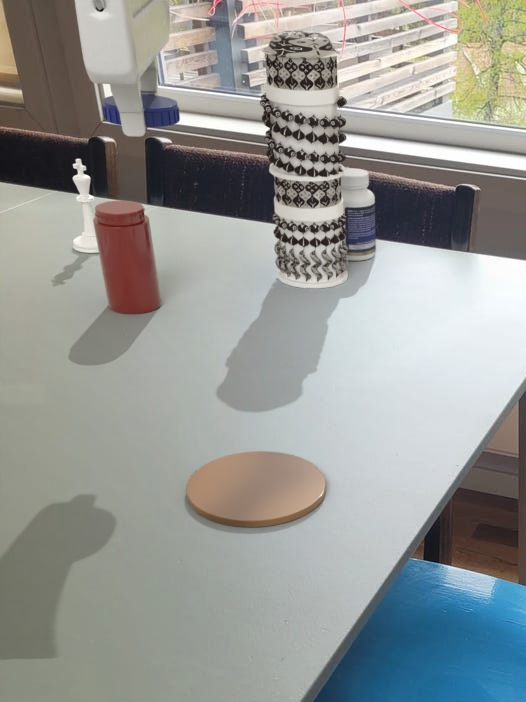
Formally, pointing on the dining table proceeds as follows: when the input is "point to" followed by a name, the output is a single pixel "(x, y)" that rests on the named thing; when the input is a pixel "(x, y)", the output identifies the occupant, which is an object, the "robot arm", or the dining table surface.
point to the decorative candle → (305, 158)
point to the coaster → (256, 489)
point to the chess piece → (85, 212)
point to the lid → (146, 110)
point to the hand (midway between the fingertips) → (142, 124)
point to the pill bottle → (358, 214)
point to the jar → (127, 257)
